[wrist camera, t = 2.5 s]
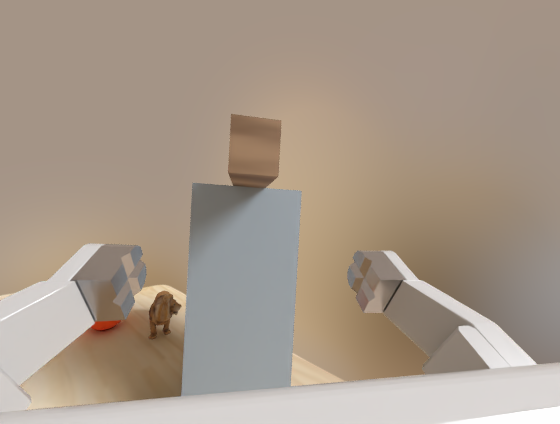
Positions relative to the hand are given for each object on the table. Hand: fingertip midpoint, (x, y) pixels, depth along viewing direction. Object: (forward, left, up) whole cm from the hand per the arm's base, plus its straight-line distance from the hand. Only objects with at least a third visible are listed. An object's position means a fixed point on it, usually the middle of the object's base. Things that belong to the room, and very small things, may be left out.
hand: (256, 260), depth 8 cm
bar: (-9, +15, +4) cm, 18 cm away
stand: (-11, +19, -25) cm, 33 cm away
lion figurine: (-35, +28, -25) cm, 51 cm away
